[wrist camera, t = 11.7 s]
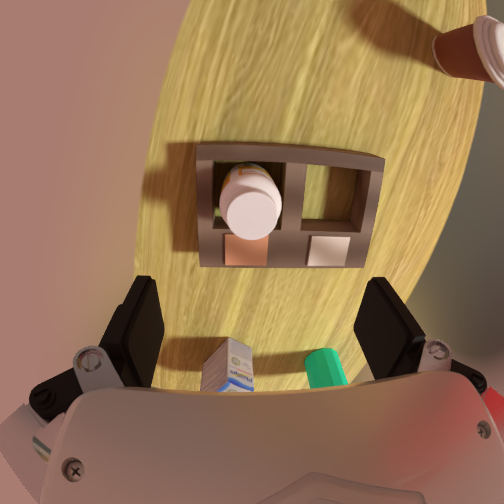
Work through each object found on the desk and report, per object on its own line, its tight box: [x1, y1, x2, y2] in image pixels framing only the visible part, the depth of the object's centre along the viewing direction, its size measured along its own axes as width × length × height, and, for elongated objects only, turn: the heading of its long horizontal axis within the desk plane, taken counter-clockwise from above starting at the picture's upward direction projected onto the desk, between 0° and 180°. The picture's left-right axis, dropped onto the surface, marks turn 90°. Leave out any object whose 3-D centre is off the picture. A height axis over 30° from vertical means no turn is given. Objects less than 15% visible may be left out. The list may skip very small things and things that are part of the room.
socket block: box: [196, 142, 385, 268], centre depth 29 cm, size 13×19×4 cm
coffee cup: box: [431, 15, 504, 89], centre depth 16 cm, size 9×9×12 cm
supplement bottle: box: [219, 163, 282, 240], centre depth 25 cm, size 5×5×10 cm
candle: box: [304, 348, 348, 389], centre depth 38 cm, size 6×6×12 cm
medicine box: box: [200, 337, 254, 392], centre depth 38 cm, size 8×4×9 cm, turn 144°
